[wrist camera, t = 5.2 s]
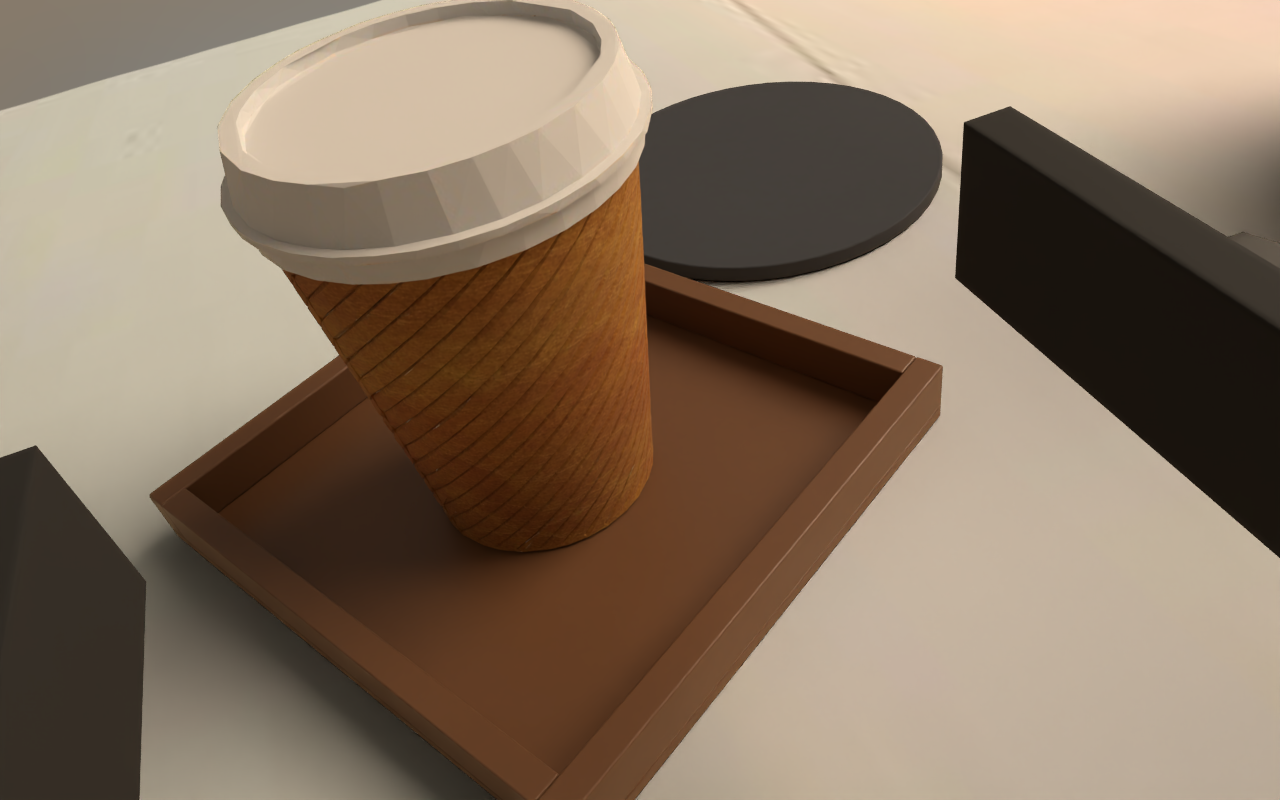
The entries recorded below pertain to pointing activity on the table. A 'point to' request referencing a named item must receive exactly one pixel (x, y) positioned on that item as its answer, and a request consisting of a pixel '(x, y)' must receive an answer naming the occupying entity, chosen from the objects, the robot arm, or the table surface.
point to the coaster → (781, 179)
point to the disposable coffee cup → (469, 247)
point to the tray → (576, 573)
